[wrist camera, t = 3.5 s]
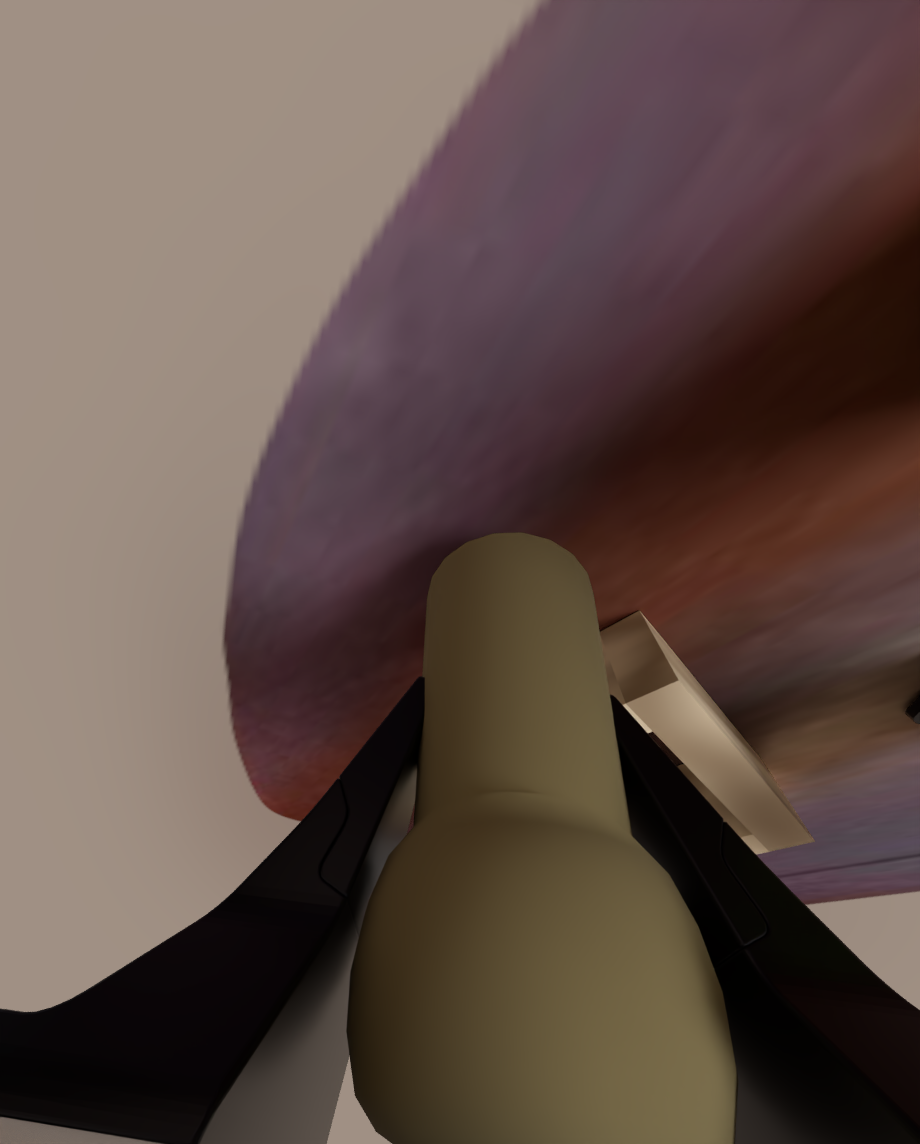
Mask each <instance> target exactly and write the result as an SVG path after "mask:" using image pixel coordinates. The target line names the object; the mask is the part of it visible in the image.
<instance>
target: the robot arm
mask: <svg viewBox="0 0 920 1144" xmlns="http://www.w3.org/2000/svg"><path fill="white" fill-rule="evenodd" d="M610 699H611V705H612V712H613V719H614V727H615V733H616V739H617V744H618V749H619V755H620V761H621V767H622V773H623V780H624V786H625V792H626V798H627V804H628V811H629V817H630V823H631V829H632V835H633V838H634V839H635V840H636V841H637V842H638V843H639V844H640V845H641V846H642V847H643V848H644V849H645V850H646V851H647V852H648V853H649V854H650V855H651V856H652V857H653V858H654V859H655V860H656V861H657V862H658V863H659V864H660V865H661V866H662V867H663V868H664V869H665V871H666V872H667V873H668V874H669V875H670V877H671V879H672V880H673V882H674V884H675V886H676V887H677V889H678V891H679V893H680V895H681V896H682V898H683V900H684V902H685V904H686V905H687V907H688V909H689V911H690V912H691V914H692V916H693V918H694V920H695V921H696V923H697V925H698V927H699V929H700V932H701V935H702V938H703V940H704V943H705V946H706V948H707V951H708V954H709V957H710V959H711V962H712V965H713V968H714V970H715V973H716V976H717V979H718V981H719V984H720V987H721V989H722V992H723V997H724V1002H725V1008H726V1013H727V1019H728V1024H729V1030H730V1035H731V1041H732V1047H733V1052H734V1058H735V1063H736V1069H737V1075H738V1097H737V1115H736V1133H735V1144H920V1010H919V1009H917V1008H916V1007H915V1006H913V1005H912V1004H910V1003H909V1002H907V1001H906V1000H905V999H904V998H903V997H901V996H900V995H899V994H898V993H896V992H895V991H894V990H893V989H891V988H890V987H889V986H888V985H887V984H885V982H883V981H882V980H881V979H880V978H879V977H878V976H877V975H876V974H875V973H873V972H872V971H871V970H870V969H869V968H868V967H867V966H866V965H865V964H864V963H863V962H862V961H861V960H860V959H859V958H858V957H857V956H856V955H855V954H854V953H853V952H852V951H851V950H850V949H849V948H848V947H847V946H846V945H845V944H844V943H843V942H842V941H841V940H840V939H839V938H838V937H837V936H836V935H835V934H834V933H833V932H832V931H831V930H830V929H829V928H828V927H827V926H826V925H825V924H824V923H823V922H822V921H821V920H820V919H819V918H818V917H817V916H816V915H815V914H814V913H813V912H812V911H811V910H810V909H809V908H808V907H807V906H806V905H805V904H804V903H803V902H802V901H801V900H800V899H799V898H798V897H797V896H796V895H795V894H794V893H793V892H792V891H791V890H790V889H789V888H788V887H787V886H786V885H785V884H784V883H783V882H782V881H781V880H780V879H779V878H778V877H777V876H776V875H775V874H774V873H773V872H772V871H771V870H770V869H769V868H768V867H767V866H766V865H765V864H764V863H763V862H762V860H761V859H760V858H759V857H758V856H757V855H756V854H755V853H754V852H753V851H752V850H751V849H750V847H749V846H748V845H747V844H746V843H745V842H744V841H743V840H742V839H741V838H740V836H739V835H738V834H737V833H736V832H735V831H734V830H733V829H732V827H731V826H730V825H729V824H728V823H727V822H725V821H724V822H723V818H722V816H721V815H720V814H719V813H718V812H717V811H716V810H715V808H714V807H713V806H712V805H711V804H710V803H709V802H708V801H707V799H706V798H705V797H704V796H703V795H702V794H701V793H700V792H699V790H698V789H697V788H696V787H695V786H694V785H693V784H692V783H691V781H690V780H689V779H688V778H687V777H686V776H685V775H684V774H683V772H682V771H681V770H680V769H679V768H678V767H677V766H676V765H675V763H674V762H673V761H672V760H671V759H670V758H669V757H668V756H667V754H666V753H665V752H664V751H663V750H662V749H661V748H660V746H659V745H658V744H657V743H656V742H655V741H654V740H653V739H652V737H651V736H650V735H649V734H648V733H647V732H646V731H645V730H644V728H643V727H642V726H641V725H640V724H639V723H638V722H637V721H636V719H635V718H634V717H633V716H632V715H631V714H630V713H629V712H628V710H627V709H626V708H625V707H624V706H623V705H622V704H621V703H620V701H619V700H618V699H617V698H616V697H615V696H614V695H611V694H610ZM424 711H425V677H423V676H420V677H418V678H417V679H416V681H415V682H414V683H413V684H412V686H411V687H410V688H409V689H408V691H407V692H406V693H405V694H404V696H403V697H402V698H401V700H400V701H399V702H398V703H397V705H396V706H395V707H394V708H393V710H392V711H391V712H390V713H389V715H388V716H387V717H386V718H385V720H384V721H383V722H382V723H381V725H380V726H379V727H378V728H377V730H376V731H375V732H374V733H373V735H372V736H371V737H370V738H369V740H368V741H367V742H366V743H365V745H364V746H363V747H362V748H361V750H360V751H359V752H358V754H357V755H356V756H355V757H354V759H353V760H352V761H351V762H350V764H349V765H348V766H347V767H346V769H345V770H344V771H343V772H342V774H341V775H340V777H339V778H340V779H337V780H336V781H335V782H334V783H333V785H332V786H331V787H330V788H329V790H328V791H327V792H326V793H325V795H324V796H323V797H322V798H321V799H320V801H319V802H318V803H317V804H316V805H315V807H314V808H313V809H312V810H311V811H310V812H309V813H308V815H307V816H306V817H305V818H304V819H303V820H302V821H301V822H300V823H299V824H298V825H297V827H296V828H295V829H294V830H293V831H292V832H291V833H290V834H289V835H288V836H287V837H286V838H285V839H284V840H283V841H282V842H281V843H280V844H279V845H278V846H277V847H276V848H275V849H274V850H273V852H272V853H271V854H270V855H269V856H268V857H267V858H266V859H265V860H264V861H263V862H262V863H261V864H260V865H259V866H258V867H257V868H256V869H255V870H254V871H253V872H252V873H251V874H250V875H249V876H248V877H247V878H246V879H245V881H243V883H242V884H241V885H240V886H239V887H238V888H237V889H236V890H235V891H234V892H233V893H232V894H230V895H229V896H228V897H227V898H226V899H225V900H224V901H223V902H221V903H220V904H219V905H218V906H217V907H215V908H214V909H213V910H212V911H210V912H209V913H208V914H206V915H205V916H203V917H202V918H201V919H199V920H198V921H196V922H194V923H193V924H191V925H190V926H188V927H187V928H185V929H183V930H182V931H180V932H178V933H177V934H175V935H174V936H172V937H170V938H169V939H167V940H166V941H164V942H162V943H161V944H159V945H158V946H156V947H155V948H153V949H151V950H150V951H148V952H146V953H145V954H143V955H142V956H140V957H139V958H137V959H135V960H134V961H133V962H131V963H129V964H127V965H126V966H124V967H123V968H121V969H119V970H118V971H116V972H115V973H113V974H112V975H110V976H108V977H107V978H105V979H103V980H102V981H100V982H99V983H97V984H95V985H94V986H92V987H91V988H89V989H88V990H86V991H84V992H82V993H80V994H79V995H77V996H75V997H74V998H72V999H70V1000H68V1001H65V1002H63V1003H61V1004H58V1005H56V1006H54V1007H51V1008H47V1009H44V1010H40V1011H37V1012H20V1011H14V1010H7V1009H0V1144H326V1143H327V1140H328V1135H329V1132H330V1128H331V1124H332V1120H333V1117H334V1113H335V1109H336V1105H337V1101H338V1097H339V1093H340V1090H341V1085H342V1082H343V1078H344V1074H345V1070H346V1066H347V1062H348V1059H349V1048H348V1040H347V1033H346V1027H347V1013H348V999H349V985H350V971H351V967H352V963H353V959H354V955H355V951H356V947H357V943H358V939H359V934H360V930H361V926H362V922H363V918H364V915H365V911H366V908H367V905H368V901H369V899H370V896H371V894H372V892H373V889H374V887H375V885H376V883H377V880H378V878H379V876H380V874H381V871H382V869H383V867H384V864H385V862H386V860H387V858H388V855H389V854H390V853H391V852H392V851H393V850H394V849H395V847H396V846H397V845H398V844H399V843H400V842H401V841H402V840H403V838H404V837H405V836H406V834H407V830H408V826H409V823H410V819H411V815H412V811H413V807H414V803H415V795H416V778H417V761H418V751H419V746H420V740H421V734H422V728H423V722H424ZM905 713H906V715H907V716H908V717H910V718H911V719H912V720H913V721H914V722H915V723H918V724H920V697H919V698H918V699H917V700H916V701H915V702H914V703H913V704H912V705H911V706H910V707H909V708H908V709H907V710H906V711H905Z"/></svg>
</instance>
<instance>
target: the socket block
mask: <svg viewBox="0 0 920 1144" xmlns="http://www.w3.org/2000/svg"><path fill="white" fill-rule="evenodd" d="M600 637H601V643H602V650H603V656H604V662H605V668H606V674H607V681H608V687H609V693H610V694H611V695H614V696H615V697H616V698H617V699H618V700H619V701H620V703H621V704H622V705H623V706H624V707H625V708H626V709H627V710H628V712H629V713H630V714H631V715H632V716H633V717H634V718H635V719H636V721H637V722H638V723H639V724H640V725H641V726H642V727H643V728H644V730H645V731H646V732H647V733H650V732H654V733H655V734H656V735H657V736H658V737H659V738H660V739H661V740H662V742H663V743H664V744H665V745H666V746H667V747H668V748H669V749H670V750H671V751H672V752H673V753H674V754H675V755H676V756H677V757H678V758H679V759H680V760H681V761H682V762H683V763H684V764H682V765H679V766H677V767H678V768H679V769H680V770H681V771H682V772H683V774H684V775H685V776H686V777H687V778H688V779H689V780H690V781H691V783H692V784H693V785H694V786H695V787H696V788H697V789H698V790H699V792H700V793H701V794H702V795H703V796H704V797H705V798H706V799H707V801H708V802H709V803H710V804H711V805H712V806H713V807H714V808H715V810H716V811H717V812H718V813H719V814H720V815H721V816H722V818H723V822H724V821H725V822H727V823H728V824H729V825H730V826H731V827H732V829H733V830H734V831H735V832H736V833H737V834H738V835H739V836H740V838H741V839H742V840H743V841H744V842H745V843H746V844H747V845H748V846H749V847H750V849H751V850H752V851H753V852H754V853H755V854H761V853H765V852H770V851H774V850H779V849H783V848H788V847H792V846H797V845H801V844H806V843H810V842H815V841H814V839H813V838H812V836H811V835H810V833H809V831H808V830H807V828H806V827H805V825H804V824H803V822H802V821H801V819H800V818H799V816H798V815H797V813H796V812H795V810H794V809H793V807H792V805H791V804H790V802H789V801H788V799H787V798H786V796H785V795H784V793H783V792H782V790H781V789H780V787H779V786H778V784H777V783H776V781H775V779H774V778H773V776H772V775H771V773H770V772H769V770H768V769H767V767H766V766H765V764H764V763H763V761H762V760H761V758H760V757H759V756H758V755H757V754H756V752H755V751H754V750H753V749H752V747H751V746H750V745H749V744H748V743H747V741H746V740H745V739H744V738H743V736H742V735H741V734H740V733H739V732H738V730H737V729H736V728H735V727H734V725H733V724H732V723H731V722H730V721H729V719H728V718H727V717H726V716H725V714H724V713H723V712H722V711H721V709H720V708H719V707H718V706H717V705H716V703H715V702H714V701H713V700H712V698H711V697H710V696H709V695H708V694H707V692H706V691H705V690H704V689H703V687H702V686H701V685H700V684H699V683H698V681H697V680H696V679H695V678H694V676H693V675H692V674H691V673H690V672H689V670H688V669H687V668H686V667H685V665H684V664H683V663H682V662H681V661H680V659H679V658H678V657H677V656H676V654H675V653H674V652H673V651H672V649H671V648H670V647H669V646H668V645H667V643H666V642H665V641H664V640H663V638H662V637H661V636H660V635H659V634H658V632H657V631H656V630H655V629H654V627H653V626H652V625H651V624H650V623H649V621H648V620H647V619H646V618H645V616H644V615H643V614H642V613H641V612H640V610H639V611H638V612H636V613H634V614H632V615H630V616H628V617H626V618H625V619H623V620H621V621H619V622H617V623H615V624H614V625H612V626H610V627H608V628H606V629H604V630H603V631H601V632H600Z"/></svg>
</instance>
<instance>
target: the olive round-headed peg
mask: <svg viewBox="0 0 920 1144" xmlns="http://www.w3.org/2000/svg"><path fill="white" fill-rule="evenodd" d="M423 677H425V711H424V722H423V728H422V734H421V740H420V746H419V751H418V761H417V778H416V795H415V812H414V827H413V828H412V829H411V831H410V832H409V833H408V834H407V835H406V836H405V837H404V838H403V840H402V841H401V842H400V843H399V844H398V845H397V846H396V847H395V849H394V850H393V851H392V852H391V853H390V854H389V855H388V858H387V860H386V862H385V864H384V867H383V869H382V871H381V874H380V876H379V878H378V880H377V883H376V885H375V887H374V889H373V892H372V894H371V896H370V899H369V901H368V905H367V908H366V911H365V915H364V918H363V922H362V926H361V930H360V934H359V939H358V943H357V947H356V951H355V955H354V959H353V963H352V967H351V971H350V985H349V999H348V1013H347V1027H346V1033H347V1040H348V1048H349V1055H350V1062H351V1070H352V1076H353V1084H354V1091H355V1096H356V1098H357V1100H358V1101H359V1103H360V1105H361V1107H362V1108H363V1110H364V1112H365V1113H366V1115H367V1117H368V1119H369V1120H370V1122H371V1124H372V1125H373V1127H374V1129H375V1131H376V1132H377V1133H379V1134H380V1135H381V1136H383V1137H384V1138H385V1139H387V1140H388V1141H390V1142H391V1143H392V1144H735V1133H736V1115H737V1097H738V1075H737V1069H736V1063H735V1058H734V1052H733V1047H732V1041H731V1035H730V1030H729V1024H728V1019H727V1013H726V1008H725V1002H724V997H723V992H722V989H721V987H720V984H719V981H718V979H717V976H716V973H715V970H714V968H713V965H712V962H711V959H710V957H709V954H708V951H707V948H706V946H705V943H704V940H703V938H702V935H701V932H700V929H699V927H698V925H697V923H696V921H695V920H694V918H693V916H692V914H691V912H690V911H689V909H688V907H687V905H686V904H685V902H684V900H683V898H682V896H681V895H680V893H679V891H678V889H677V887H676V886H675V884H674V882H673V880H672V879H671V877H670V875H669V874H668V873H667V872H666V871H665V869H664V868H663V867H662V866H661V865H660V864H659V863H658V862H657V861H656V860H655V859H654V858H653V857H652V856H651V855H650V854H649V853H648V852H647V851H646V850H645V849H644V848H643V847H642V846H641V845H640V844H639V843H638V842H637V841H636V840H635V839H634V838H633V835H632V829H631V823H630V817H629V811H628V804H627V798H626V792H625V786H624V780H623V773H622V767H621V761H620V755H619V749H618V744H617V739H616V733H615V727H614V719H613V712H612V705H611V699H610V693H609V687H608V681H607V674H606V668H605V662H604V656H603V650H602V643H601V637H600V631H599V625H598V619H597V612H596V606H595V600H594V594H593V591H592V587H591V583H590V580H589V576H588V573H587V572H586V571H585V569H584V568H583V567H582V565H581V564H580V563H579V561H578V560H577V559H576V558H575V556H574V555H573V554H572V553H570V552H569V551H567V550H566V549H564V548H562V547H561V546H559V545H558V544H556V543H555V542H553V541H551V540H549V539H546V538H542V537H538V536H534V535H530V534H526V533H522V532H520V533H493V534H490V535H487V536H484V537H481V538H478V539H475V540H472V541H469V542H466V543H465V544H463V545H462V546H461V547H459V548H458V549H456V550H455V551H454V552H452V553H451V554H450V555H448V556H447V557H445V559H444V560H443V562H442V563H441V565H440V566H439V567H438V569H437V570H436V572H435V573H434V575H433V576H432V579H431V583H430V587H429V592H428V596H427V608H426V625H425V642H424V659H423Z"/></svg>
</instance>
